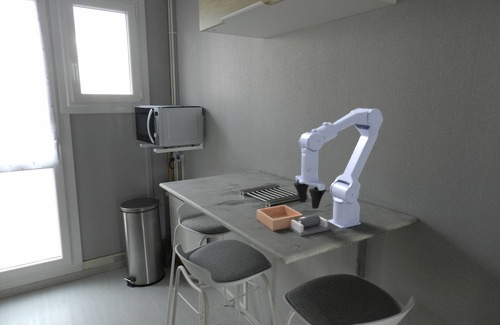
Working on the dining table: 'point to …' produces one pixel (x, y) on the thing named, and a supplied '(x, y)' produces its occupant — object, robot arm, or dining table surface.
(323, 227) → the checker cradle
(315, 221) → the cell
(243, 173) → the dining table surface
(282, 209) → the bin
